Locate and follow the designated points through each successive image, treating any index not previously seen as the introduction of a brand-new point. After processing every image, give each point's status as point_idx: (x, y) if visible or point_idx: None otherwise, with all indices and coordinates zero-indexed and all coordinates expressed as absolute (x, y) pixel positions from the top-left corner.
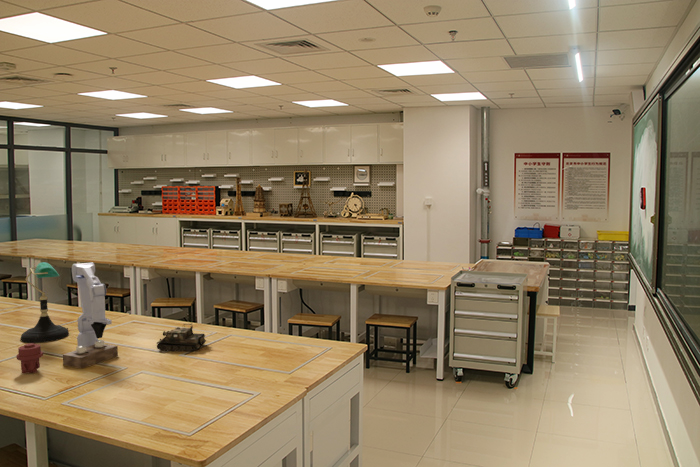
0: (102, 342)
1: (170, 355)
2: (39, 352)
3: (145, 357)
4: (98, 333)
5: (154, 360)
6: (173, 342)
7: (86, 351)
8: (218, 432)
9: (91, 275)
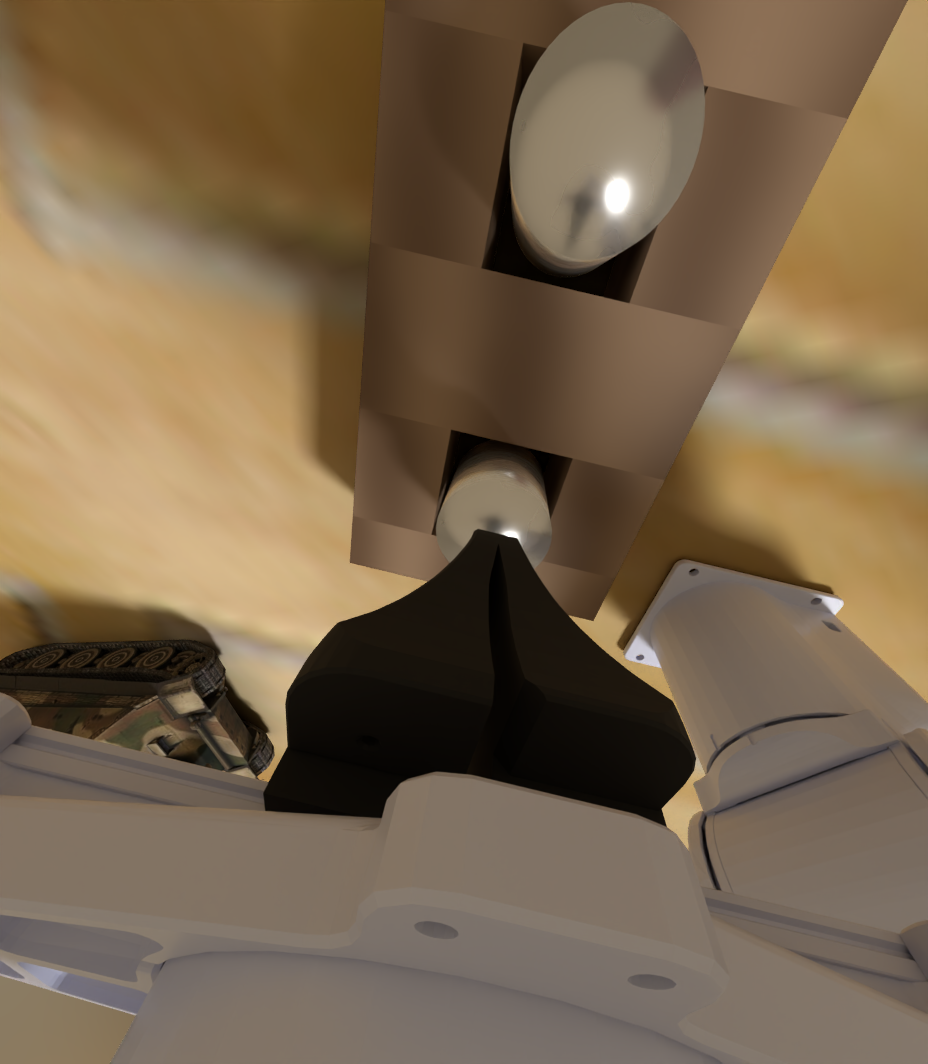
0: (439, 514)
1: (74, 576)
2: None
3: (169, 518)
4: (451, 561)
5: (52, 469)
6: (87, 689)
7: (551, 292)
8: None
9: None
